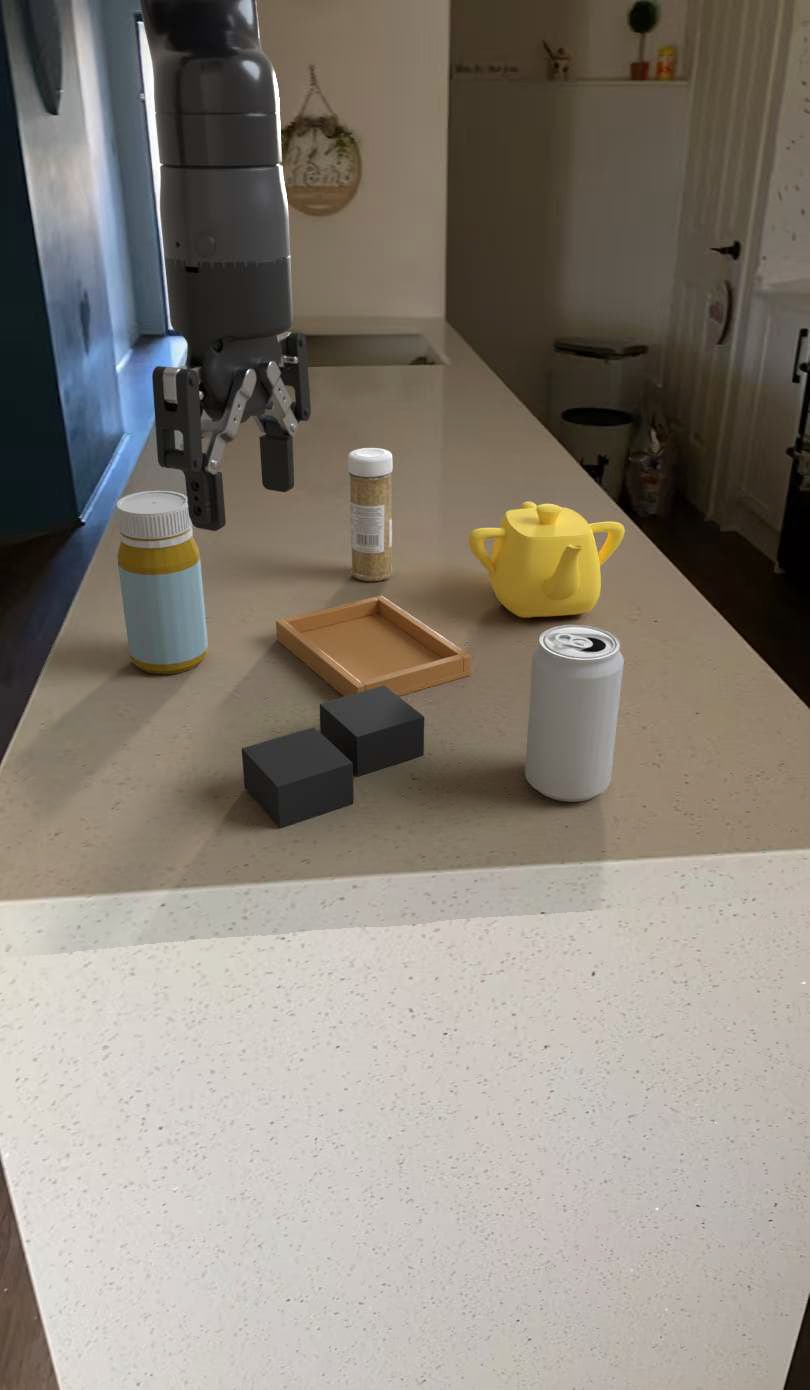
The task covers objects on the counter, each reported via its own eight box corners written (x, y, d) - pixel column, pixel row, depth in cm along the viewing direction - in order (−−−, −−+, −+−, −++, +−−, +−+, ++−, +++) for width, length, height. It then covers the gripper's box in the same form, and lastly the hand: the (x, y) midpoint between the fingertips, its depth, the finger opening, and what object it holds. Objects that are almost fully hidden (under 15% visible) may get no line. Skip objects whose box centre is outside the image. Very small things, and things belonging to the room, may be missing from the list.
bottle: (185, 682, 96) (168, 519, 89) (116, 669, 98) (94, 509, 91) (221, 649, 102) (209, 494, 95) (155, 638, 104) (138, 485, 96)
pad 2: (357, 776, 83) (356, 737, 81) (320, 741, 87) (319, 703, 86) (423, 755, 86) (424, 716, 84) (384, 722, 90) (384, 685, 88)
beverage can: (600, 815, 79) (617, 667, 73) (514, 797, 80) (523, 651, 75) (616, 770, 84) (633, 629, 78) (535, 754, 86) (546, 615, 80)
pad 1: (279, 828, 77) (277, 787, 75) (244, 788, 81) (241, 748, 80) (353, 803, 80) (353, 763, 78) (315, 765, 84) (314, 726, 82)
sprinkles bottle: (400, 571, 119) (400, 450, 112) (379, 586, 115) (378, 461, 109) (363, 564, 121) (362, 444, 114) (342, 577, 117) (339, 454, 111)
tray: (357, 708, 92) (356, 687, 91) (276, 639, 104) (275, 620, 103) (470, 675, 97) (471, 655, 96) (381, 613, 109) (381, 595, 108)
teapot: (635, 602, 112) (647, 506, 107) (571, 644, 103) (580, 541, 98) (523, 570, 119) (529, 478, 115) (454, 606, 111) (457, 509, 106)
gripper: (239, 233, 72) (254, 472, 80) (99, 258, 61) (133, 532, 69) (339, 240, 70) (344, 486, 77) (211, 267, 58) (233, 552, 66)
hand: (245, 507), depth 73 cm, fingers open, 8 cm apart
